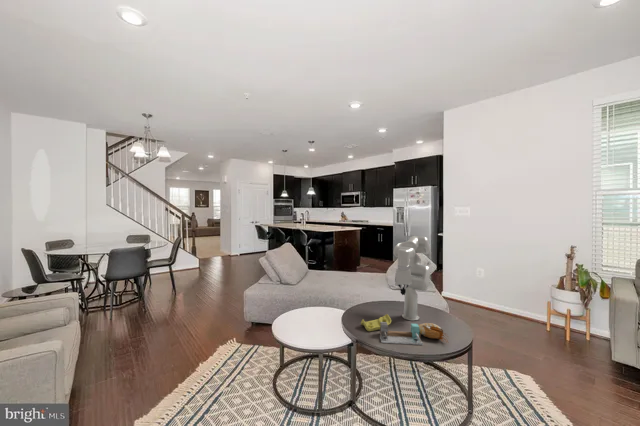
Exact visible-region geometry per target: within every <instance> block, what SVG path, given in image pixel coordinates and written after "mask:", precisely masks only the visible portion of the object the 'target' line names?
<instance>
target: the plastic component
mask: <svg viewBox="0 0 640 426" xmlns="http://www.w3.org/2000/svg"><path fill="white" fill-rule="evenodd" d="M380 322H387V324H388V326H389V325H391V323H392V318H391V317H390V315H389V314H388V313H386V314H385V315H383V316H380V317H379V318H377V319H372V320H368V321H365V319H364V318H363V319H361V321H360V325H361V326H364V328H365V330H366V331H367V332H374V331H378V330H380Z"/></svg>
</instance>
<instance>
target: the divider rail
mask: <svg viewBox="0 0 640 426" xmlns="http://www.w3.org/2000/svg"><path fill="white" fill-rule="evenodd" d="M388 326H389V325H388V324H387V322H380V329H379V330H380V331H379V333H380V335H382V336H385V338H386V337H387V336H400V337H412V332H411V331H395V330H389V329H388ZM380 335H379V336H380ZM419 338H420V339H421V334H420V333H419Z"/></svg>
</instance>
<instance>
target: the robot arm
mask: <svg viewBox="0 0 640 426" xmlns="http://www.w3.org/2000/svg"><path fill="white" fill-rule="evenodd" d="M431 249H432V247H431V244H430V240H429V239H428V237H426V236H417V235H413V236H410V237H408V239H407V241H403V242H399V243H397V244H396V245H395V246H394V248H393V255H394V257H396V258H397V268H396V269H395V272H394V273H395V275H394V285H395V286H396V287H399V288H400V294H401V295H402V296H403V295H404V303H403V304H404V305H403V306H404V307H403V313H402V314H401V318H403V319H404V320H407V321H411V322H413V321H419V320H420V316H419V315H418V301H419V299H418V297H419V296H418V292H417V291H421V292H426V291H427V290H428V288H429V283H430V282H429V281H430V276H431V274H430V273H431V270H430V267H429V265H424V264H422V259H421V257H420V256H419V254H421V255H423V254H424V255H428V254H430V253H431V251H432V250H431Z"/></svg>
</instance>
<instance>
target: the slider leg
mask: <svg viewBox="0 0 640 426" xmlns="http://www.w3.org/2000/svg"><path fill="white" fill-rule="evenodd" d="M418 325H419V324H418V323H413V322H412V323H410V332H412V337H417V340H418V339H421V337H420V338H419V326H418Z"/></svg>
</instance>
